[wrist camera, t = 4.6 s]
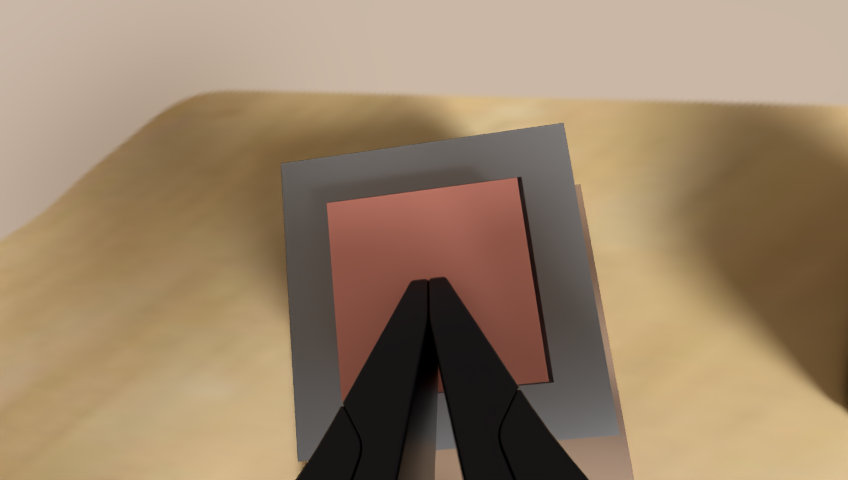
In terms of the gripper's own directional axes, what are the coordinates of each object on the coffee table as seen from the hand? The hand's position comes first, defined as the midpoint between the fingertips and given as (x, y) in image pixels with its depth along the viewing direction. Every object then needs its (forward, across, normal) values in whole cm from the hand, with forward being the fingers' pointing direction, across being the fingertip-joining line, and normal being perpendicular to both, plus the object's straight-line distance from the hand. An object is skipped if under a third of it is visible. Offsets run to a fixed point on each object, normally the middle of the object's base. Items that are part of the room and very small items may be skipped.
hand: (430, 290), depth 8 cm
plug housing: (+6, 0, +6) cm, 8 cm away
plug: (+5, 0, +4) cm, 6 cm away
